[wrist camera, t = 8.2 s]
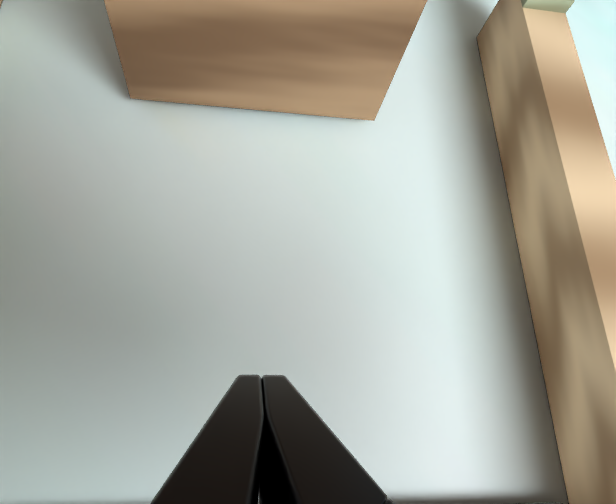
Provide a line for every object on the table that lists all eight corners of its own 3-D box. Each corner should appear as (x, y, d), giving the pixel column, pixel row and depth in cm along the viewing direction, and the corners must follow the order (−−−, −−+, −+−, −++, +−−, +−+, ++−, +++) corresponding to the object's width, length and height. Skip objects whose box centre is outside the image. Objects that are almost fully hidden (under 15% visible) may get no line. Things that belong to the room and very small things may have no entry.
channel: (685, 772, 14) (854, 889, 10) (-399, 909, 10) (-770, 1179, 6) (513, 41, 25) (564, -32, 21) (-41, -26, 21) (-99, -130, 17)
